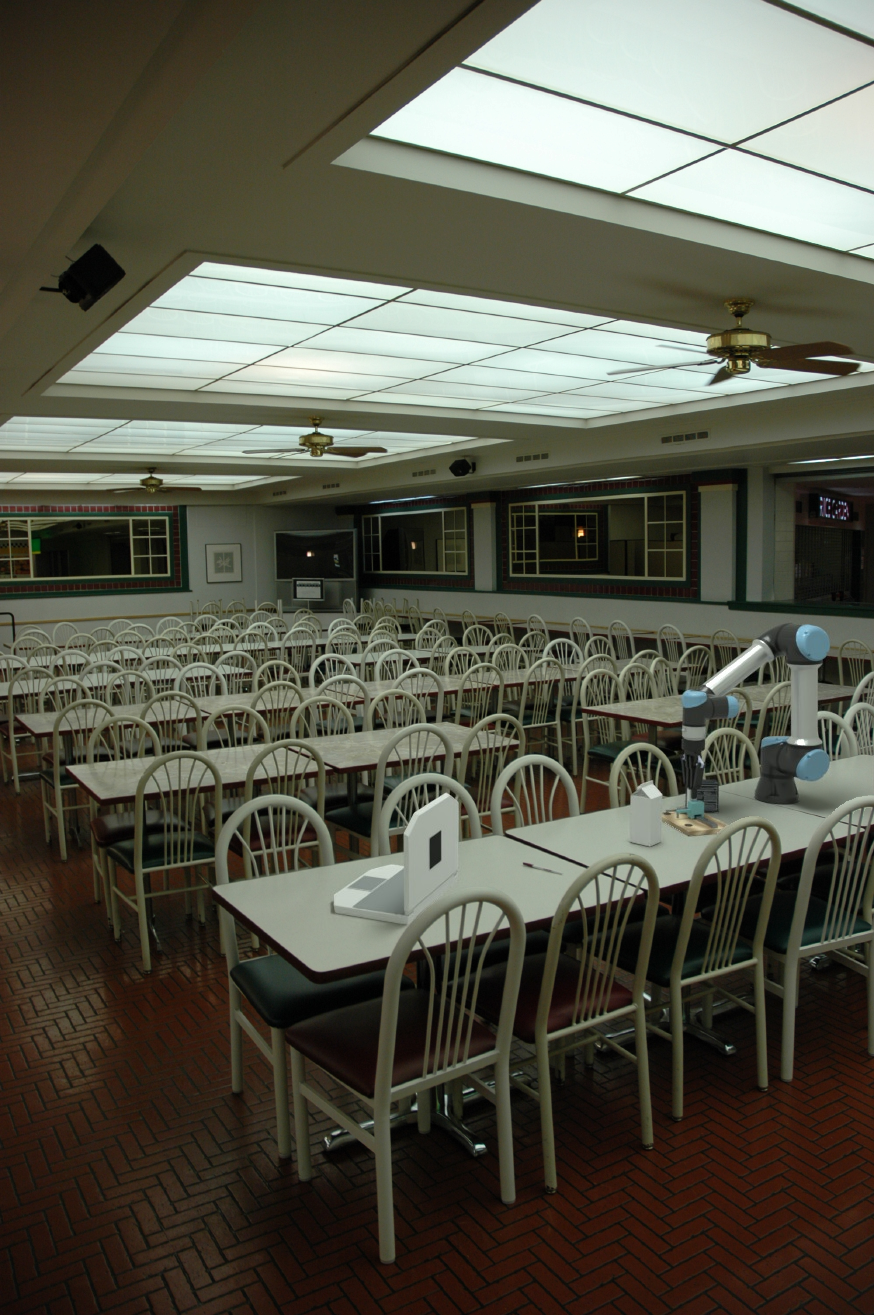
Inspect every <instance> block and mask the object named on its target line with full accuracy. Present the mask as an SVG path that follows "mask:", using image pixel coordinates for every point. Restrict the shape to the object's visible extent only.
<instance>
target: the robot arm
mask: <svg viewBox="0 0 874 1315" xmlns="http://www.w3.org/2000/svg"><path fill="white" fill-rule="evenodd" d="M751 643H752V644H751V646H749V648H747V649H745V650H744V651H743V652H741V653H740V654H739V655H738V656H737V657H736V658H734V659H733V660H732V661H730V662H729V663H728V664H726V666H724V667H723V668H722V669H720V670H719V671H718V672H716V674H714V675H712V677H710V678H709V679H708V680H706V681H705V682H704V683H703V684H701V685H700V686H698V688H696V689H688V690H687V689H686V691H684V692H683V693H682V695H681V699H680V702H681V706H682V719H681V720H682V724H681V725H682V726H681V727H682V729H681V736H682V739H681V749H682V750H683V751H684V754H681V755H680V756H679V757H680V762H681V771H682V782H683V783H682V784H683V785H685V788H686V787H687V807H688V801H697V789H699V788H701V786H702V780H703V779H704V778H703V777H704V773H705V768H706V766H707V762H706V761H703V760H702V759H703V755H702V752H703V751H705V750H706V740H705V738H706V734H707V733H706V731H707V730H706V729H707V728H706V726H707V720H708V721H709V720H721V719H722V720H723V719H724V720H727V719H728V720H729V719H733V718H735V717H737V715H738V713H739V711H740V708H739V707H740V704H739V701H738V700H737V698H736V697H735V696H734V695H726V694H727V693H729V692H730V691H731V690H733V689H734V688H735V687H736V686H738V685H739V684H740V683H742V682H743V681H744V680H745V679H746V678H748V677H749V676H750V675H752V674H753V673H755V671H757V670H758V669H759V668H761V667H762V666H763V665H764V664H766V663H772V662H773V661H774V660H775V659H777V658H780V657H785V660H786V661H785V662H786V664H785V665H787V667H789V668H790V720H791V721H790V724H791V725H790V736H789V735H775V736H771V735H770V736H765V737H763V739H762V740H761V744H760V745H761V746H760V770H759V771H760V772H759V780H758V782H757V784H756V788H755V789H754V799H756V800H758V801H761V802H764V803H771V804H778V805H780V804H781V805H789V804H795V803H797V802H799V799H800V798H799V797H800V796H799V792H798V791H799V790H798V787H797V785H796V781H795V778H797V779H800V780H801V781H807V782H816V781H819V780H821V779H822V778H823V777H824V775H826V774H827V772H829V771H828V770H829V768H830V763H831V760H830V756H829V754H828V753H827V752H826V751H825V750H823V740H822V739H821V738H820V737H819V736H818V735H819V734H818V730H819V729H818V728H819V727H818V725H819V724H818V720H819V719H818V718H819V716H818V715H819V714H818V712H819V711H818V707H819V705H818V704H819V702H818V700H819V698H818V697H819V695H818V686H819V684H818V683H819V681H818V680H819V675H818V674H819V673H818V669H819V668H820V667H821V666H822V665H823V659H825V658H826V657H827V655H828V654H829V652H830V649H831V641H830V638H829V635H828V633H827V632H826V631H825V630H824V629H822V628H821V627H819V626H817V625H813V624H802V623H792V622H784V623H780V624H777V625H775V626H773V627H771V628H769V629H768V630H766V631H764V632H763V633H762V634H760V635H759V636H757V637H756V638H755V639H753V640H752V642H751Z"/></svg>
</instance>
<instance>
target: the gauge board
mask: <svg viewBox="0 0 874 1315" xmlns="http://www.w3.org/2000/svg"><path fill="white" fill-rule="evenodd" d="M676 814H677V813H676V812H668V814H666V811H665V812H664V811H662V823H664V822H666V823H667V824H666V823H665V824H666V825H668V824H669V825H668V826H670V825H671V826H673V827H674V828H673V827H672V828H673V829H675V828H676V829H675V830H677V829H678V830H680V831H681V832H680V831H679V832H680V833H682V832H683V833H682V834H684V833H685V834H684V835H685V836H687V835H696V836H702V835H701V834H707V835H715V834H716V833H717V832H719V831H720V830H721V829H722V828H724V827H725V826H726V825H728V824H727V823H725V822H723V821H722V820H719V819H717V818H715V817H713V816H711V815H710V814H707V813H706V812H704V817H705V818H707V819H709V820H710V821H712V822H714V823H716V824H718V828H710V827H709V826H707V825H705V824H703V823H701V822H699V821H697V820H695V819H691V818H689V817H687V815H686V814H680V813H679V818H676ZM671 826H670V827H671ZM678 830H677V831H678ZM716 835H717V834H716Z"/></svg>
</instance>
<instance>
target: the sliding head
mask: <svg viewBox="0 0 874 1315" xmlns="http://www.w3.org/2000/svg"><path fill="white" fill-rule="evenodd" d="M686 812H687V817H689V818H691V819H694V815H701V816H703V817H704V813H705V812H704V802H702V801H700V800H697V801H688V808H687V809H684V810H676V813H677V814H676V818H679V813H686Z"/></svg>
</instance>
